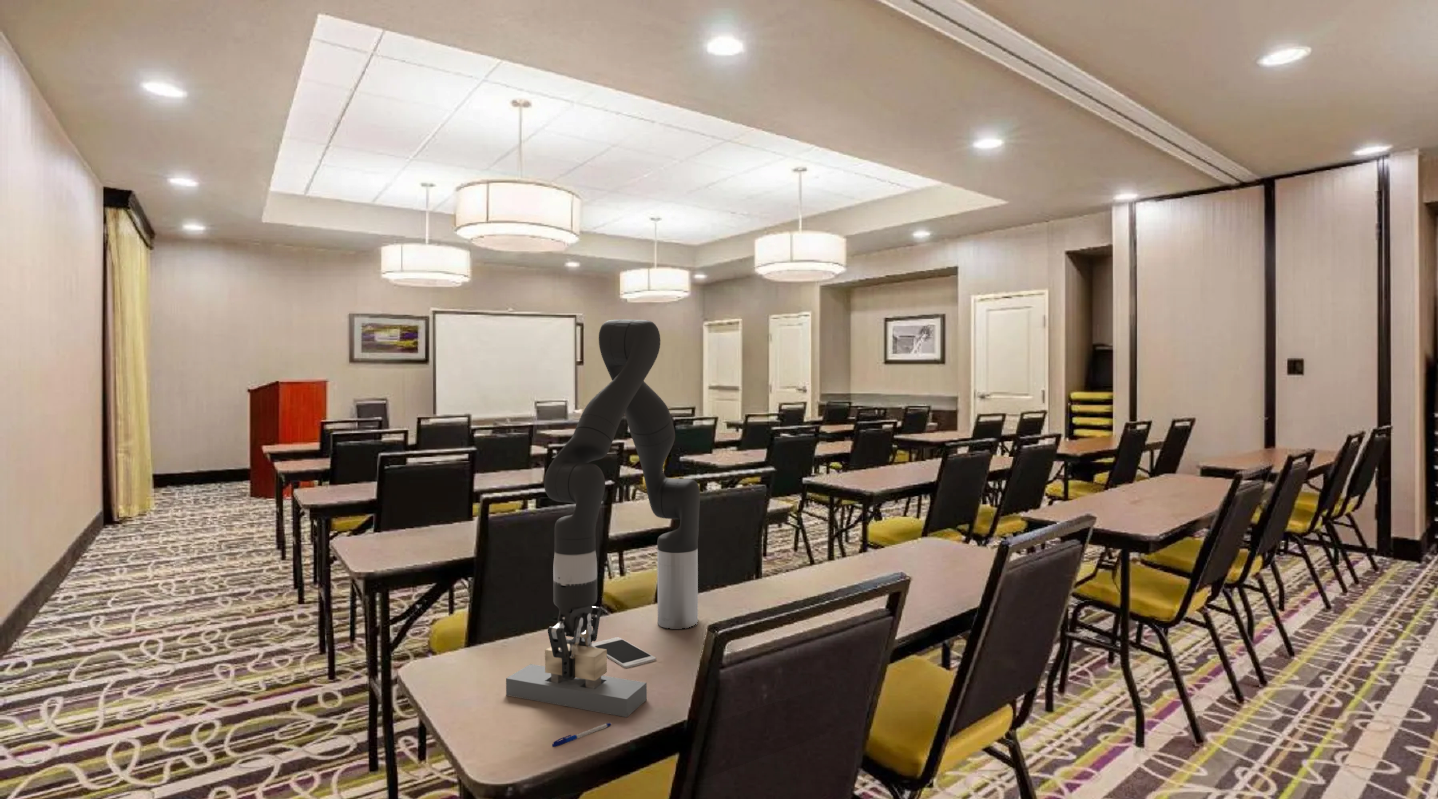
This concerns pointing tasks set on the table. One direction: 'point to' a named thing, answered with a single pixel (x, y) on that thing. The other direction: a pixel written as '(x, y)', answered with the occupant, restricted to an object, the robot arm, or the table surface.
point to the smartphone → (624, 652)
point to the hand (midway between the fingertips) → (575, 673)
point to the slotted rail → (578, 691)
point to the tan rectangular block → (579, 665)
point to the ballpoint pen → (578, 735)
